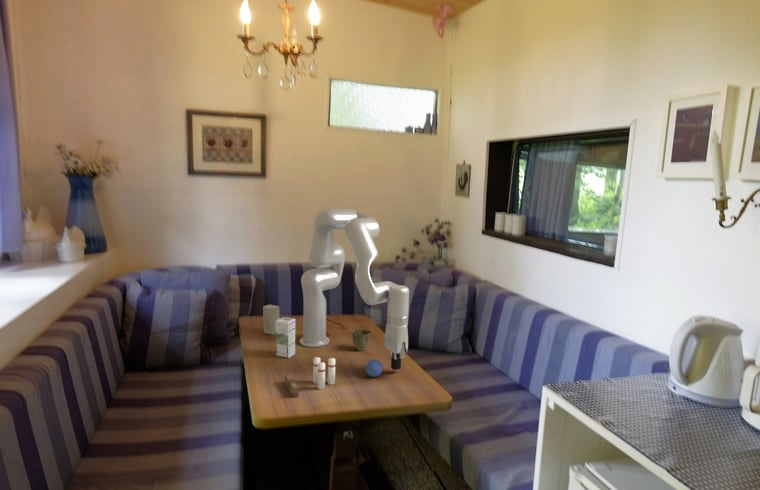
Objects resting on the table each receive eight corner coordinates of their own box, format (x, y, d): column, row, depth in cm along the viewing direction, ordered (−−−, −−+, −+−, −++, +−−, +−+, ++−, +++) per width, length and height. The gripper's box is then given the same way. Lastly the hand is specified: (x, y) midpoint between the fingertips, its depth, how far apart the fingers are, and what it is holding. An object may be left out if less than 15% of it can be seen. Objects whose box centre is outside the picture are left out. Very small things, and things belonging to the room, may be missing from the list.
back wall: (284, 382, 163) (284, 374, 162) (288, 382, 163) (288, 373, 163) (293, 397, 152) (294, 388, 152) (298, 396, 153) (298, 387, 152)
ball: (362, 374, 172) (363, 358, 171) (377, 371, 175) (378, 356, 174) (369, 380, 167) (370, 364, 166) (385, 378, 169) (385, 361, 168)
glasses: (323, 324, 230) (324, 314, 229) (346, 329, 223) (346, 319, 222) (306, 331, 218) (306, 321, 218) (329, 337, 212) (330, 326, 211)
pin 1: (311, 381, 165) (312, 357, 163) (318, 380, 166) (319, 356, 165) (314, 384, 162) (314, 360, 161) (321, 383, 163) (321, 359, 162)
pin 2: (316, 387, 160) (316, 362, 159) (323, 386, 161) (323, 361, 160) (318, 390, 158) (319, 365, 157) (326, 389, 159) (326, 364, 158)
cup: (367, 353, 192) (368, 334, 191) (349, 352, 193) (350, 332, 192) (371, 347, 199) (372, 329, 198) (354, 345, 201) (354, 327, 200)
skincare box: (280, 332, 215) (280, 306, 213) (273, 335, 211) (273, 308, 209) (270, 330, 218) (270, 304, 216) (262, 332, 214) (262, 306, 212)
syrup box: (295, 353, 190) (296, 318, 188) (288, 358, 184) (288, 322, 182) (283, 351, 192) (283, 316, 190) (275, 356, 186) (275, 320, 184)
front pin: (326, 382, 164) (327, 358, 163) (333, 381, 165) (334, 357, 164) (329, 385, 162) (329, 361, 161) (336, 383, 163) (336, 360, 162)
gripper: (379, 315, 177) (377, 362, 179) (398, 327, 163) (396, 378, 166) (397, 313, 180) (395, 360, 182) (417, 324, 167) (415, 374, 169)
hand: (395, 368), depth 174 cm, fingers closed
